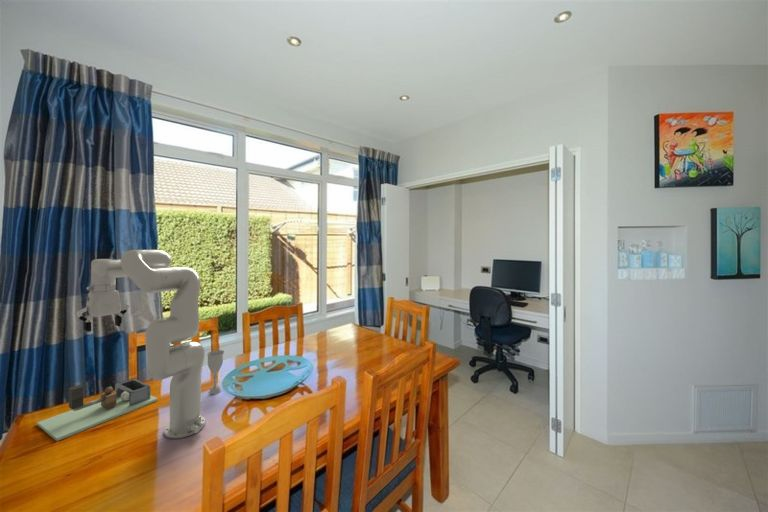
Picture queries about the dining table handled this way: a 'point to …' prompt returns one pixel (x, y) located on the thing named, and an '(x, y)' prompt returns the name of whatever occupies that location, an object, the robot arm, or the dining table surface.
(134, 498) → the dining table surface
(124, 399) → the ball
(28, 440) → the dining table surface
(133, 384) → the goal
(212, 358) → the chalice
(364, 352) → the dining table surface
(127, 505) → the dining table surface
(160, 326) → the robot arm
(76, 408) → the striker
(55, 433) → the plate
